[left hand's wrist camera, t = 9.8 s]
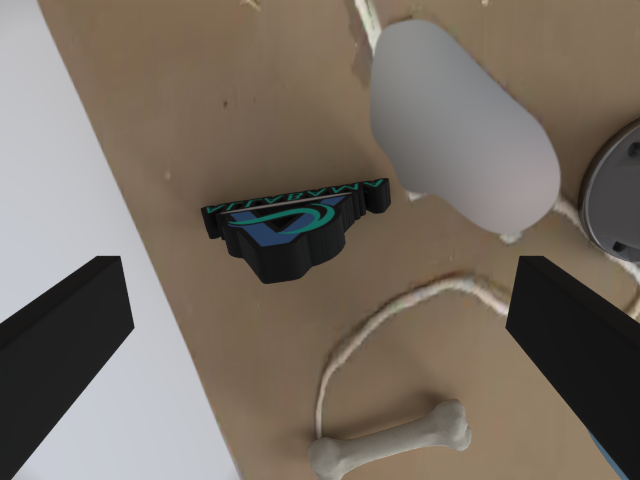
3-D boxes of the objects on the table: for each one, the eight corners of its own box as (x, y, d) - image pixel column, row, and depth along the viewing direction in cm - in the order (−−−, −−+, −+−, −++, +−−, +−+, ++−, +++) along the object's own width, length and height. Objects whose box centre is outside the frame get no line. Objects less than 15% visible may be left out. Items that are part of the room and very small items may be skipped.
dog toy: (321, 464, 51) (321, 501, 46) (304, 433, 49) (302, 468, 45) (467, 421, 48) (483, 455, 44) (454, 386, 47) (470, 418, 42)
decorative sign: (208, 229, 39) (147, 301, 25) (202, 207, 39) (135, 268, 25) (389, 201, 38) (430, 260, 24) (387, 177, 38) (427, 224, 24)
